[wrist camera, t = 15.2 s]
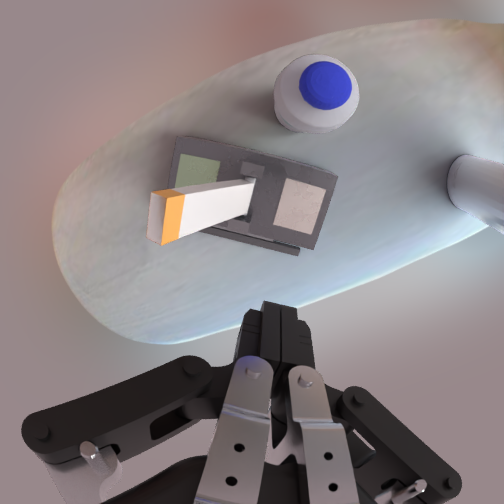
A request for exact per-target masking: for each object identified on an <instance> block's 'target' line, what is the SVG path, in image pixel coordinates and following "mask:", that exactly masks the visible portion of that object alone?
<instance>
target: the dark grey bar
mask: <svg viewBox="0 0 504 504" xmlns="http://www.w3.org/2000/svg"><path fill="white" fill-rule="evenodd" d="M199 231H200V232H204V233H208V234H212V235H216V236H220V237H224V238H228V239H232V240H236V241H240V242H244V243H248V244H252V245H256V246H260V247H263V248H267V249H271V250H275V251H279V252H283V253H287V254H291V255H295V256H298V254H299V252H300V248H299V247H295V246H291V245H288V244H284V243H280V242H276V241H273V239H269V238H265V237H262V236H258V235H254V234H250V233H247V234H243V233H239V232H235V231H231V230H227V228H226V227H222V226H218V225H212V226H210V227H207V228H204V229H202V230H199Z"/></svg>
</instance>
